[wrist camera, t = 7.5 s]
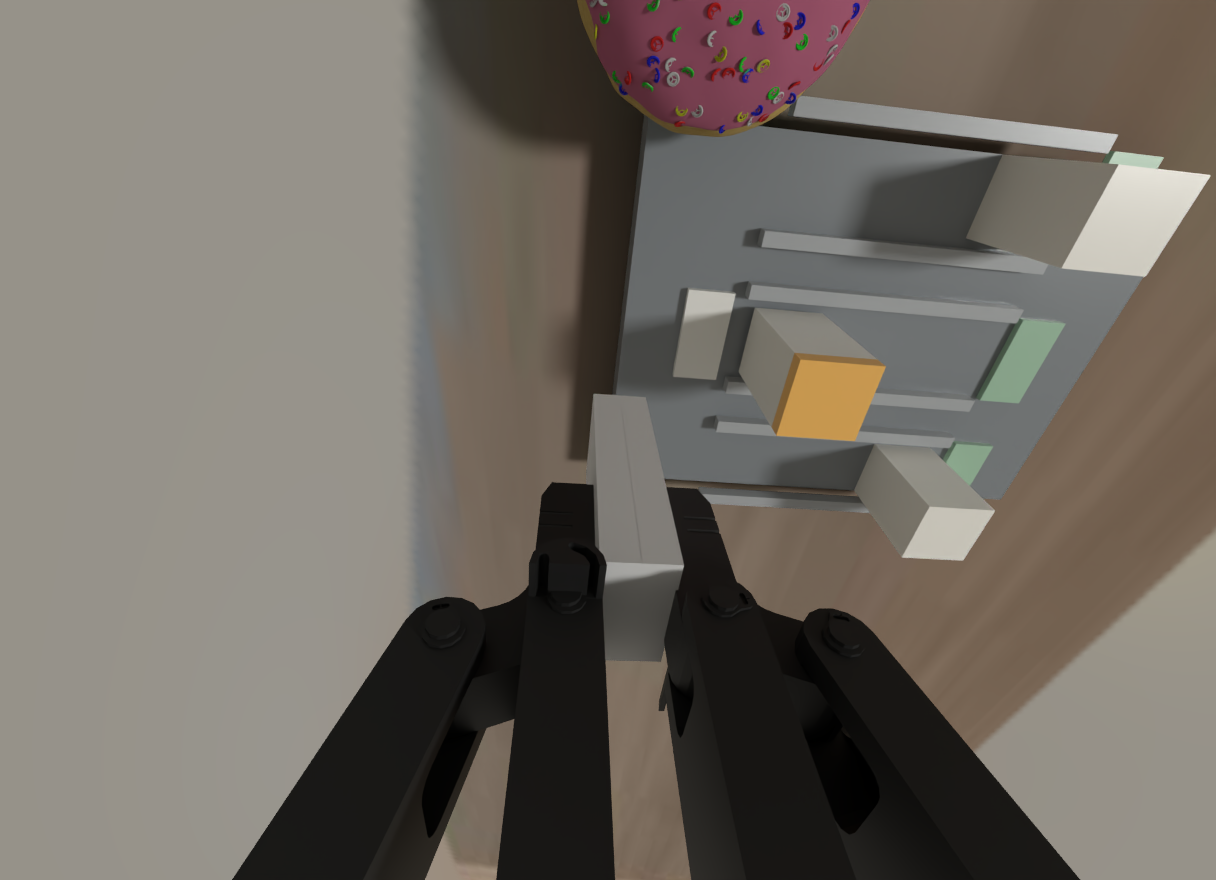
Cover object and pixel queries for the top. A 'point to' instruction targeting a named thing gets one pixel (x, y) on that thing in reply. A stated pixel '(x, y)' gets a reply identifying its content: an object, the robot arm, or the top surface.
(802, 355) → the breaker handle
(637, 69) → the cupcake
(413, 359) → the top surface
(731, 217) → the panel
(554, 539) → the robot arm
